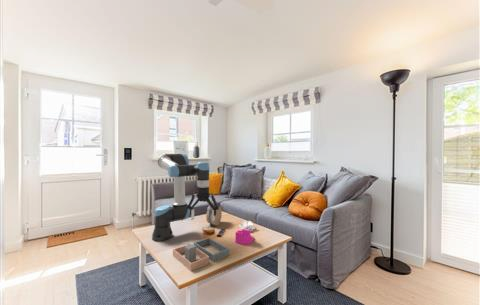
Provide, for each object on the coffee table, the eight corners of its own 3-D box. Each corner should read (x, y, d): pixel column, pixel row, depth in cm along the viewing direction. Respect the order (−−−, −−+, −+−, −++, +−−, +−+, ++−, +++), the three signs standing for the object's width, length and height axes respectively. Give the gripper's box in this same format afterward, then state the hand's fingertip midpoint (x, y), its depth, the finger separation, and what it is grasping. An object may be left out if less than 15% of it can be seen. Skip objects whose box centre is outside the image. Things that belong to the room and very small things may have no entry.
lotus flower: (237, 227, 185) (237, 217, 185) (254, 227, 186) (254, 217, 186) (238, 234, 171) (238, 223, 171) (256, 233, 172) (256, 222, 172)
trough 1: (172, 255, 135) (172, 249, 135) (190, 249, 143) (190, 243, 143) (190, 270, 118) (190, 263, 118) (209, 263, 126) (209, 256, 126)
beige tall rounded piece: (212, 221, 201) (212, 197, 201) (221, 222, 199) (221, 197, 199) (204, 227, 185) (204, 201, 185) (214, 228, 182) (214, 201, 182)
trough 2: (193, 248, 145) (193, 242, 145) (208, 243, 153) (208, 237, 153) (213, 261, 128) (213, 255, 128) (228, 255, 136) (228, 248, 136)
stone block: (184, 259, 131) (184, 246, 131) (192, 256, 134) (192, 243, 134) (188, 262, 127) (188, 249, 127) (196, 259, 130) (196, 246, 130)
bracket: (248, 245, 150) (248, 230, 150) (235, 243, 154) (235, 229, 154) (254, 238, 162) (254, 225, 162) (241, 236, 165) (241, 223, 165)
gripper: (181, 187, 132) (181, 221, 132) (221, 188, 129) (221, 223, 129) (186, 185, 140) (186, 217, 140) (223, 186, 136) (223, 219, 136)
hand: (203, 220), depth 134 cm, fingers open, 13 cm apart
